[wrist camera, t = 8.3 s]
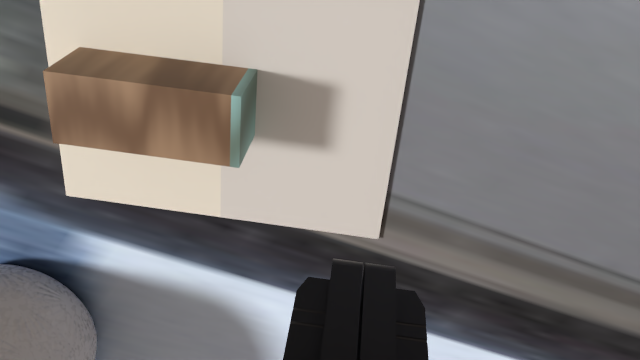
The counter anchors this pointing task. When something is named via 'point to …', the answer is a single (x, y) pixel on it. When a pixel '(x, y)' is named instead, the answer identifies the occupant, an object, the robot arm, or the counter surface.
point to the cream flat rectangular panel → (259, 105)
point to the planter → (42, 318)
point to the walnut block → (152, 106)
